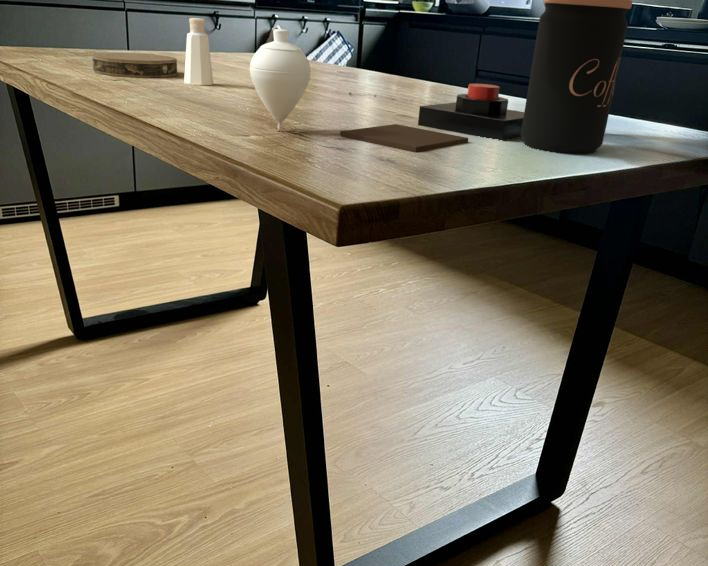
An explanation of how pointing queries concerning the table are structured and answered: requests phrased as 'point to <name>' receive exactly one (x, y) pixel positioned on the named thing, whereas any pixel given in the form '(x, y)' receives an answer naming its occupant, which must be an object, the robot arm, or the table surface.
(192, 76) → the pepper shaker
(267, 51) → the spinning top
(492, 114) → the black button base
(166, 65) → the round wood slice
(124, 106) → the table surface
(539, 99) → the coffee jar
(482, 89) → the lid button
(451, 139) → the coaster
